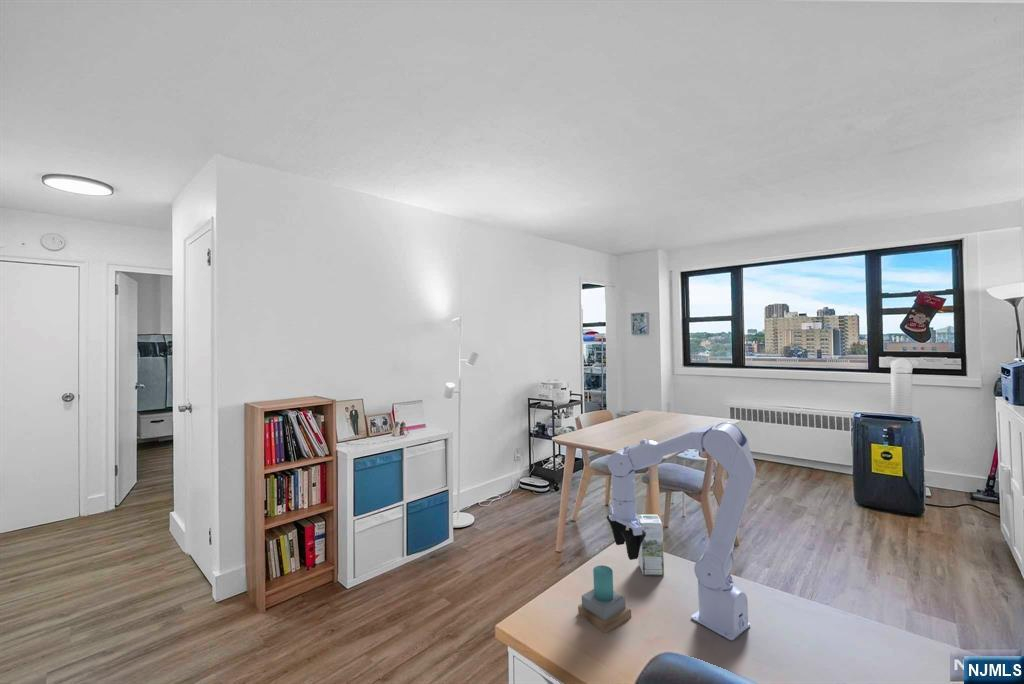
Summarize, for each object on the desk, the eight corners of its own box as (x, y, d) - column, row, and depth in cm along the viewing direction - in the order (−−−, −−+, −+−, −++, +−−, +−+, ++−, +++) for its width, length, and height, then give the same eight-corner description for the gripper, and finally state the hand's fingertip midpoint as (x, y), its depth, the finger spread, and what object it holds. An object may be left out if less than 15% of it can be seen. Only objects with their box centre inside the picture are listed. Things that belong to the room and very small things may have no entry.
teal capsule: (617, 596, 100) (616, 571, 99) (604, 604, 97) (603, 578, 97) (602, 588, 103) (602, 563, 103) (590, 595, 100) (589, 569, 100)
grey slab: (625, 608, 99) (625, 597, 99) (605, 621, 95) (604, 609, 95) (602, 594, 105) (601, 584, 105) (582, 606, 101) (581, 595, 101)
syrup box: (659, 564, 120) (657, 513, 120) (664, 576, 114) (662, 522, 114) (638, 564, 121) (636, 513, 121) (642, 576, 115) (640, 522, 115)
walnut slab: (631, 619, 99) (630, 608, 99) (605, 635, 94) (605, 624, 94) (603, 602, 106) (603, 592, 106) (578, 616, 101) (578, 605, 101)
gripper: (598, 489, 115) (600, 540, 116) (621, 510, 101) (623, 568, 101) (623, 487, 117) (625, 536, 117) (649, 507, 102) (651, 564, 102)
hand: (626, 551), depth 109 cm, fingers open, 7 cm apart
